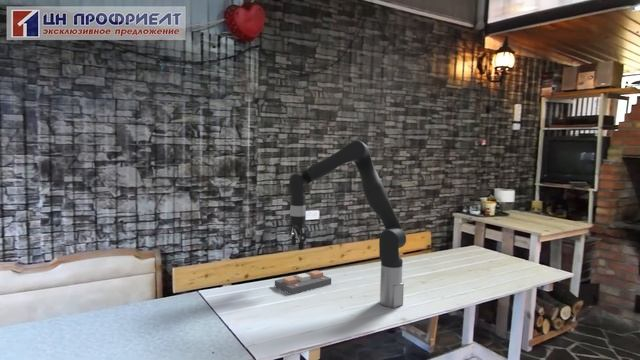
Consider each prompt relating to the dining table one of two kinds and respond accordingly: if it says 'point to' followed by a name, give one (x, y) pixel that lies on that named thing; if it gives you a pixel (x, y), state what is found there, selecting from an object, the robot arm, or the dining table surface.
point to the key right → (316, 274)
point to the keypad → (303, 284)
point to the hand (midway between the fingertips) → (297, 247)
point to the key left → (289, 280)
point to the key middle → (303, 277)
